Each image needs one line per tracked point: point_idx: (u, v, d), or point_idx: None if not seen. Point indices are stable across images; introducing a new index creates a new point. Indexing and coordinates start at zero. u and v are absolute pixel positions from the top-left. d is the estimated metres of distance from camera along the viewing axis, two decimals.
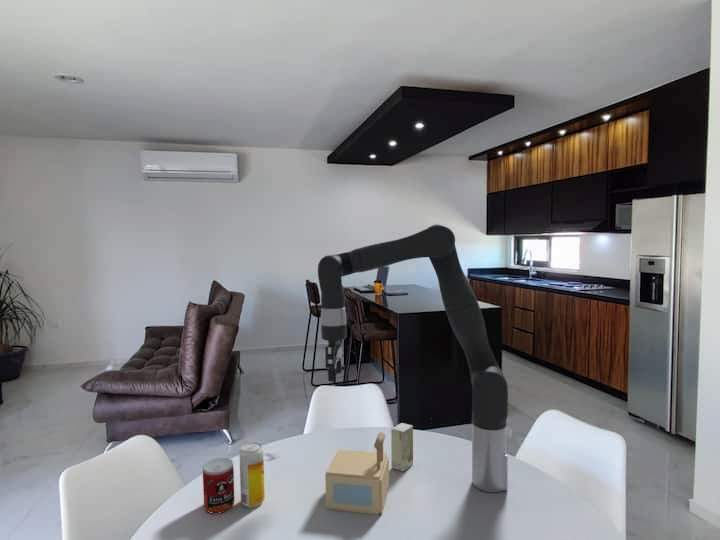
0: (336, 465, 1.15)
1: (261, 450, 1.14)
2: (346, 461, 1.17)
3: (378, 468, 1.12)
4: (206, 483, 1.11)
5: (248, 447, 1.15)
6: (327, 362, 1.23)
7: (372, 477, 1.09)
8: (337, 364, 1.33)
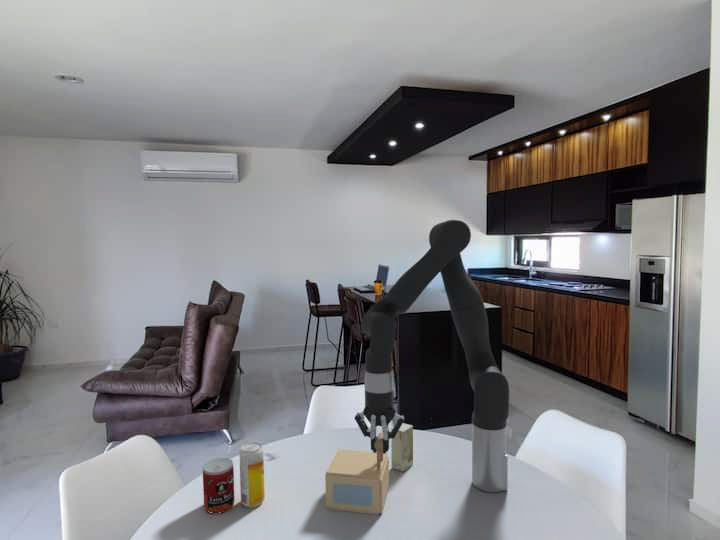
0: (336, 465, 1.15)
1: (261, 450, 1.14)
2: (346, 461, 1.17)
3: (378, 468, 1.12)
4: (206, 483, 1.11)
5: (248, 447, 1.15)
6: None
7: (372, 477, 1.09)
8: None
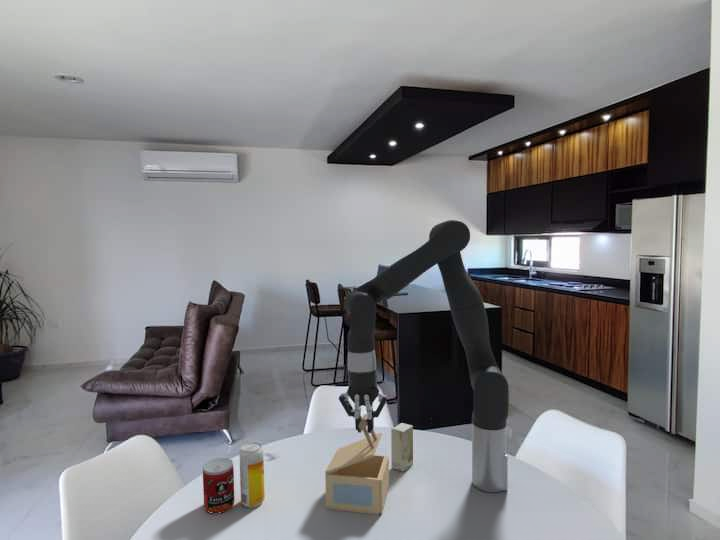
0: (334, 462, 1.15)
1: (261, 450, 1.14)
2: (343, 455, 1.17)
3: (372, 447, 1.12)
4: (206, 483, 1.11)
5: (248, 447, 1.15)
6: None
7: (367, 457, 1.09)
8: None
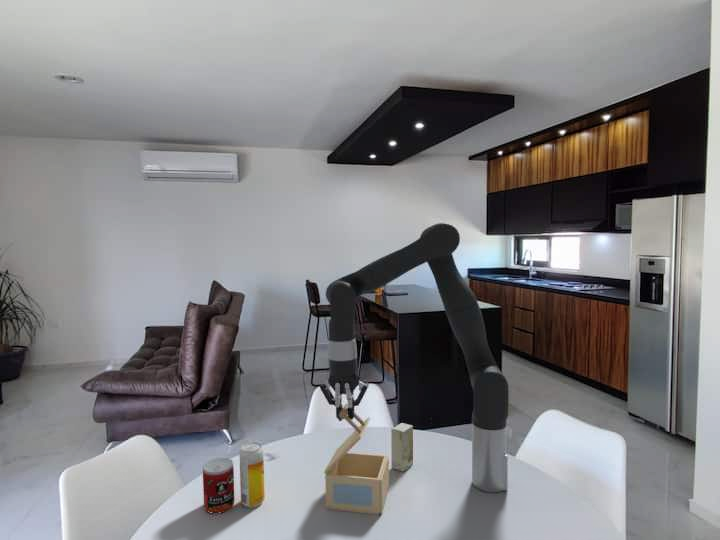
0: (332, 460, 1.15)
1: (261, 450, 1.14)
2: (339, 450, 1.17)
3: (359, 431, 1.13)
4: (206, 483, 1.11)
5: (248, 447, 1.15)
6: None
7: (355, 441, 1.09)
8: (341, 409, 1.17)
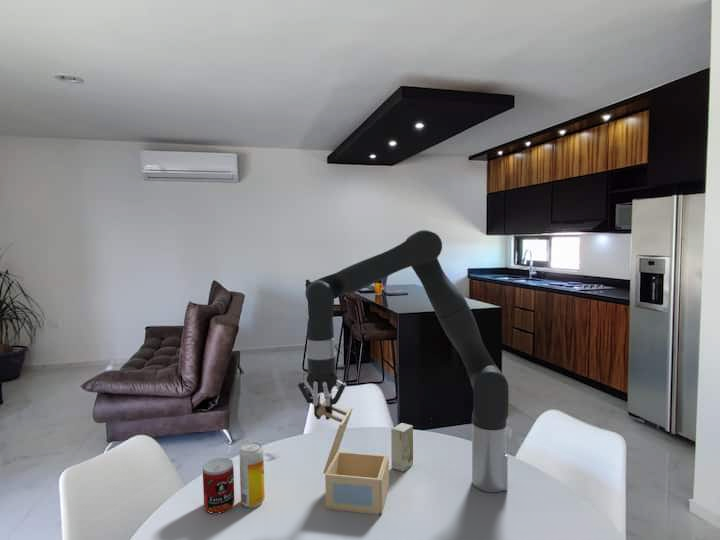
0: None
1: (261, 450, 1.14)
2: None
3: (341, 421, 1.14)
4: (206, 483, 1.11)
5: (248, 447, 1.15)
6: None
7: (338, 431, 1.10)
8: None
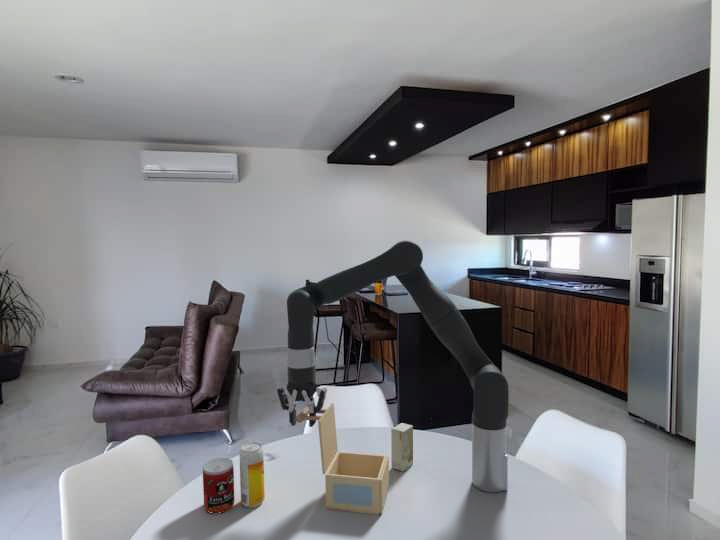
0: None
1: (261, 450, 1.14)
2: None
3: None
4: (206, 483, 1.11)
5: (248, 447, 1.15)
6: None
7: (319, 427, 1.11)
8: (295, 414, 1.19)
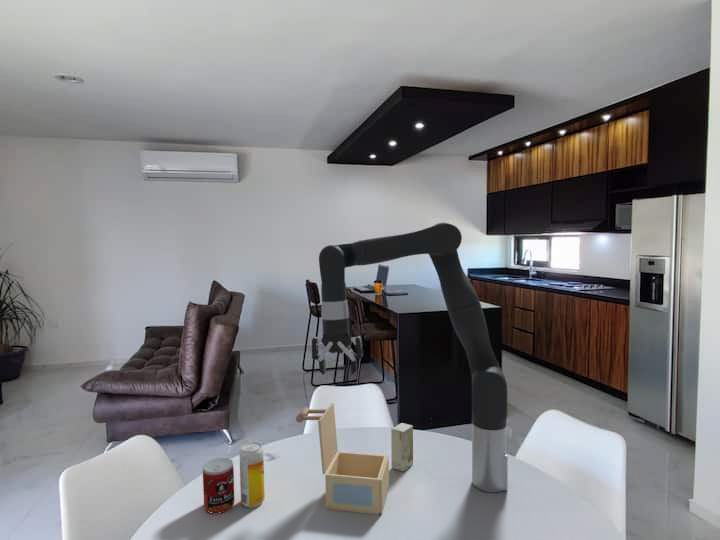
0: None
1: (261, 450, 1.14)
2: None
3: None
4: (206, 483, 1.11)
5: (248, 447, 1.15)
6: None
7: (319, 427, 1.11)
8: (324, 364, 1.23)
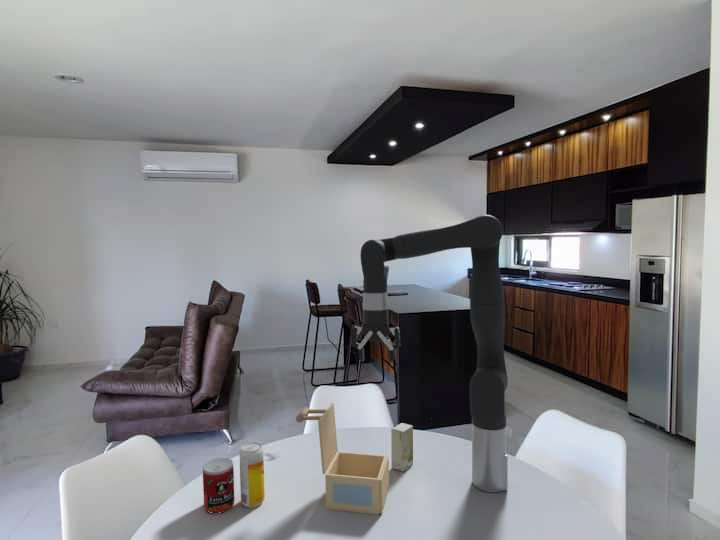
0: None
1: (261, 450, 1.14)
2: None
3: None
4: (206, 483, 1.11)
5: (248, 447, 1.15)
6: None
7: (319, 427, 1.11)
8: (363, 352, 1.30)
